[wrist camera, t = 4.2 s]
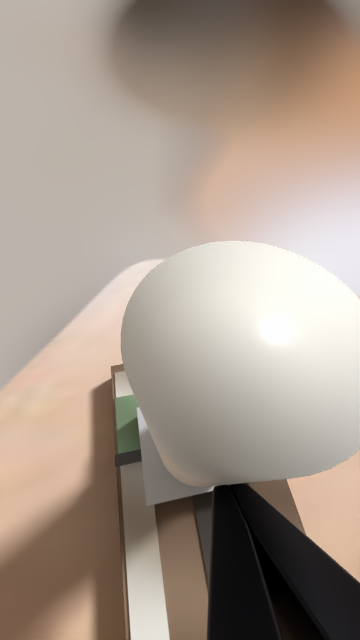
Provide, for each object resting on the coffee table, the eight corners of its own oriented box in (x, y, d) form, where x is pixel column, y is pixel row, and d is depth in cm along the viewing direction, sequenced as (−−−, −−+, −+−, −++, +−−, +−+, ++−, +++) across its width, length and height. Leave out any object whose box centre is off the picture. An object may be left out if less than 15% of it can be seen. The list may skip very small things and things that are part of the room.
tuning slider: (259, 479, 12) (534, 443, 3) (119, 511, 12) (-123, 608, 2) (233, 395, 14) (345, 219, 5) (114, 418, 14) (-19, 261, 4)
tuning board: (368, 755, 9) (402, 802, 8) (145, 842, 8) (139, 912, 7) (234, 354, 18) (239, 343, 16) (115, 375, 17) (110, 365, 16)
